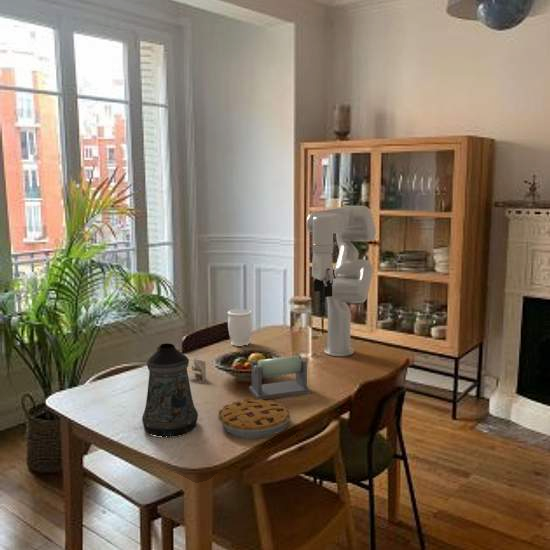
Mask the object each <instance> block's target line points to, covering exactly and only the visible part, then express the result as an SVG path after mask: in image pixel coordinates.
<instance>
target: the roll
mask: <svg viewBox="0 0 550 550" xmlns="http://www.w3.org/2000/svg"><path fill="white" fill-rule="evenodd" d="M302 360H303V359H302ZM302 360H300V358H299V356H296V355H290V356H281V357H275V358H266V359H258V361H257V365H260V366H261V367H262V378H271V377H277V376H284V375H285V376H286V375H293V374H296V373H300V372H301V367H302ZM257 365H256V366H257ZM256 366H254V373H256Z"/></svg>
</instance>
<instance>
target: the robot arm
mask: <svg viewBox="0 0 550 550" xmlns="http://www.w3.org/2000/svg"><path fill="white" fill-rule="evenodd" d="M305 222H306V229H307V230H308V232H309V233H312V261H311V276H312V278H313V279H312V280H313V291H314V292H323V297H324V298H326V302H327V339H326V342H327V346H325V347H324V348H323V352H324V353H323V354H326V355H327V356H332V357H348V356H351V355H353V354H354V353H355V349H354V348H353V347H351V327H352V326H351V325H352V324H351V316H352V315H351V314H352V313H351V309H350V307H349V305H348V304H347V303H359V304H360V303H361V304H362V303H364V302H365V301H366V300H367V299H368V296H369V291H370V287H371V282H372V278H373V264H372V263H371V262H370V261H369V260H367V259H359V250H358V249H357V248H356V246H355V245H354V244H353V243H352V242H365V243H367V242H368V243H369V242H371V241H373V240H374V239H375V237H376V229H377V228H376V225H375V222H374V218H373V214H372V212H371V210H370V208H369V207H368V206H366V205H343V206H339V207H336V208H329V209H324V210H317V211H316V210H315V211H313V212H310V213H309V214H308V216H307V218H306V221H305ZM334 234H335V236H336V243H337V247H338V255H337V259H336V263H335V266H334V264H333V253H334ZM323 284H324V286H323Z"/></svg>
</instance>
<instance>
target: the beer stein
mask: <svg viewBox="0 0 550 550" xmlns="http://www.w3.org/2000/svg"><path fill="white" fill-rule="evenodd" d="M189 363H190V359H189V358H188V356H187V355H186V354H184V353H182V352H181V351H180V350H178V349H177V348H176V347H175V345H174V344H173V343H168V342H166V343H161V344H160V345H159V346H158V347H157V348H156V351H155V352H154V353H153V354H152V355H151V356H150V357H149V358H148V360H147V362H146V367H147V369H148V372H149V374H148V382H147V383H148V384H147V394H146V401H145V408H144V412H143V413H142V418H141V419H142V420H141V421H142V425H143V429H144V431H145V430H146V431H145V432H146V434H147V433H149V434H152V435H156V436H162V437H166V436H167V438H173V437H172V436H177V437H180V436H179V435H181V436H184V435H183V434H185V435H188V434H189V433H191V432H192V431H193V430H194V428H195V429H196V425H197V423H198V422H197V421H198V418H199V414H198V411H197V409H196V407H195V404H194V399H193V395H192V390H191V384H190V383H191V382H190V379H189V373H188V371H187V369H188V368H189V365H190V364H189ZM192 429H193V430H192ZM191 430H192V431H191ZM190 431H191V432H190ZM188 432H189V433H188ZM187 433H188V434H187ZM149 434H148V435H149ZM170 436H171V437H170Z"/></svg>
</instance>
